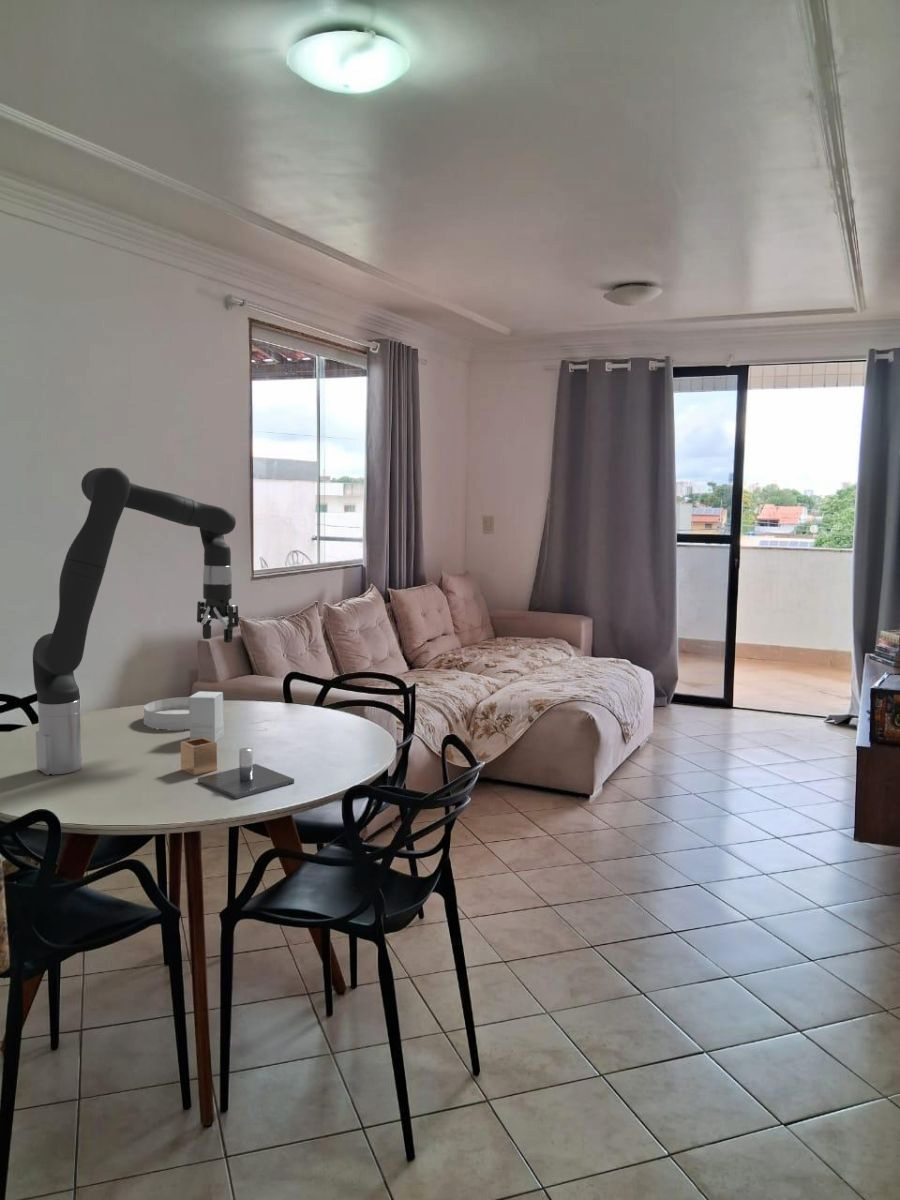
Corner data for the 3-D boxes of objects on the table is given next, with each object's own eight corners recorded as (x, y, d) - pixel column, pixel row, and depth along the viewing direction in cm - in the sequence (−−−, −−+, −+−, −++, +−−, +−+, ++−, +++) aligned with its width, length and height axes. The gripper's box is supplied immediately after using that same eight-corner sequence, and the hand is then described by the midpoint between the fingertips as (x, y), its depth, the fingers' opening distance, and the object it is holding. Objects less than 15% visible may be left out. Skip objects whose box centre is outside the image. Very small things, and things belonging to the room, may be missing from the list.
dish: (193, 708, 274) (192, 693, 274) (236, 721, 260) (235, 704, 260) (128, 721, 257) (128, 705, 257) (171, 735, 243) (170, 718, 243)
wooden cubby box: (194, 775, 209) (193, 747, 208) (181, 769, 213) (180, 741, 212) (216, 769, 213) (216, 742, 212) (203, 764, 217) (203, 737, 217)
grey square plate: (235, 799, 193) (235, 764, 192) (197, 782, 204) (197, 749, 203) (294, 783, 205) (294, 750, 204) (255, 767, 216) (255, 736, 215)
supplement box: (224, 735, 244) (224, 691, 242) (215, 743, 236) (214, 697, 235) (199, 734, 244) (198, 690, 243) (188, 741, 237) (188, 696, 235)
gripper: (189, 580, 237) (189, 639, 239) (224, 584, 229) (224, 645, 230) (211, 579, 243) (211, 636, 245) (245, 583, 235) (245, 642, 237)
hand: (217, 640), depth 238 cm, fingers open, 8 cm apart
